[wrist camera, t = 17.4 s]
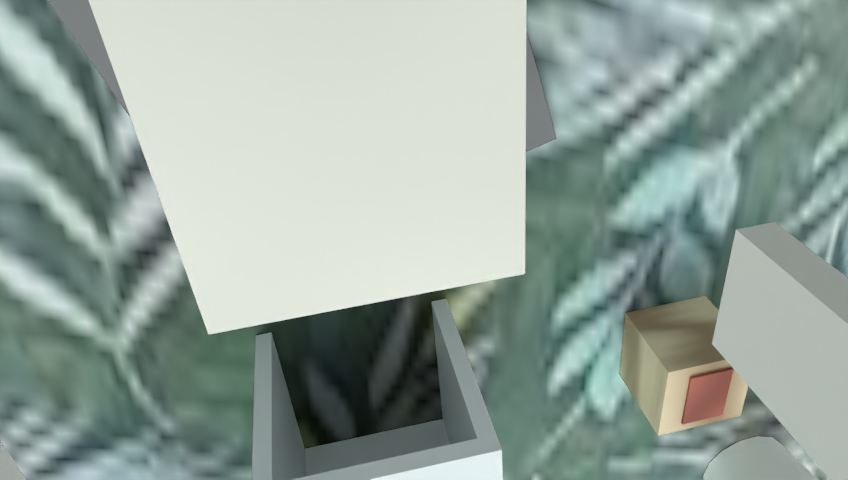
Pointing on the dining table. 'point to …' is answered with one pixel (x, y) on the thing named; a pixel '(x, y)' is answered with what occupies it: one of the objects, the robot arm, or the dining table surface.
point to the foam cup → (757, 462)
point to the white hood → (328, 145)
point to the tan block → (679, 366)
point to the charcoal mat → (82, 25)
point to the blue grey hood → (386, 451)
